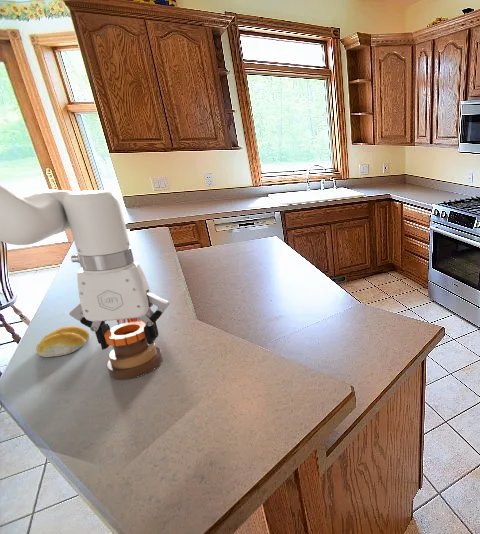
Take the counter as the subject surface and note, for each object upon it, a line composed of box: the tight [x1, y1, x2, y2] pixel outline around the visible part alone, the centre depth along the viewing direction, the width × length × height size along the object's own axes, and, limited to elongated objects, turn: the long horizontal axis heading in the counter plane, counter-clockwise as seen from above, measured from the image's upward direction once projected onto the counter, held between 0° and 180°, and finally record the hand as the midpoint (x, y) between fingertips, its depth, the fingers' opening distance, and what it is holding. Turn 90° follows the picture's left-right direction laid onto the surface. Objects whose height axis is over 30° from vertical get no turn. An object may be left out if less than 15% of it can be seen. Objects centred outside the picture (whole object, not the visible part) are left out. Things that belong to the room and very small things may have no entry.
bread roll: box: [35, 325, 90, 358], centre depth 78 cm, size 8×9×4 cm
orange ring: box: [104, 321, 146, 347], centre depth 71 cm, size 7×7×2 cm
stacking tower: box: [106, 331, 163, 381], centre depth 72 cm, size 9×9×7 cm
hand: (130, 342), depth 72 cm, fingers closed on orange ring, 7 cm apart
